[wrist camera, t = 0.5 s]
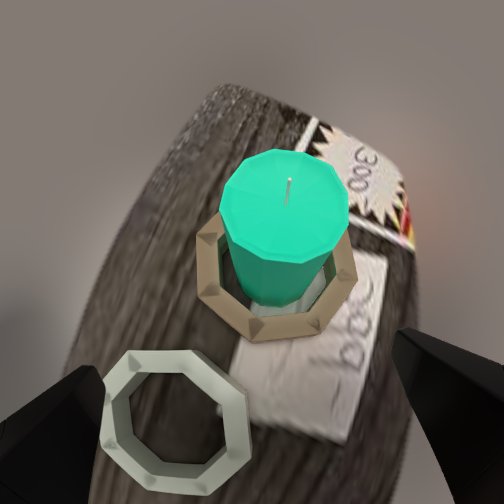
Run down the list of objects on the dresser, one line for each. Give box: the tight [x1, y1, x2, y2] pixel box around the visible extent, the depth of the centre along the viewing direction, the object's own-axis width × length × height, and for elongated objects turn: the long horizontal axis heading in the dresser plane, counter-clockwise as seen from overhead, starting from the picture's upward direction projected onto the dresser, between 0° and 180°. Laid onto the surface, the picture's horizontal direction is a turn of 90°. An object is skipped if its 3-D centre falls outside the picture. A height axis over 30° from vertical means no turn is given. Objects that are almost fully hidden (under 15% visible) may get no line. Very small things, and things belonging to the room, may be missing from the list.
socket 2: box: [196, 211, 358, 343], centre depth 20 cm, size 11×11×3 cm
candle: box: [219, 149, 349, 307], centre depth 16 cm, size 6×6×12 cm
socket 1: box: [100, 350, 252, 496], centre depth 16 cm, size 11×11×3 cm
